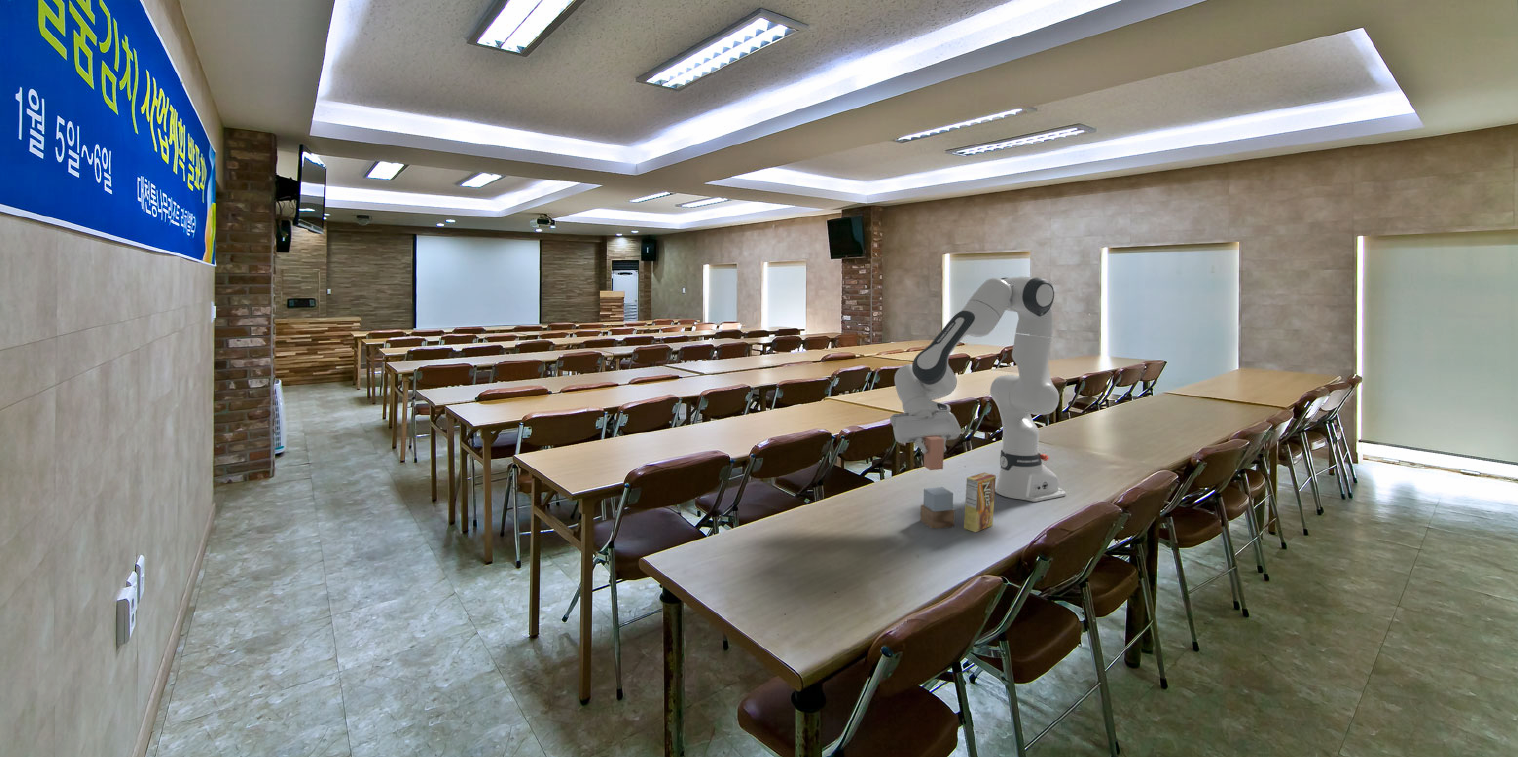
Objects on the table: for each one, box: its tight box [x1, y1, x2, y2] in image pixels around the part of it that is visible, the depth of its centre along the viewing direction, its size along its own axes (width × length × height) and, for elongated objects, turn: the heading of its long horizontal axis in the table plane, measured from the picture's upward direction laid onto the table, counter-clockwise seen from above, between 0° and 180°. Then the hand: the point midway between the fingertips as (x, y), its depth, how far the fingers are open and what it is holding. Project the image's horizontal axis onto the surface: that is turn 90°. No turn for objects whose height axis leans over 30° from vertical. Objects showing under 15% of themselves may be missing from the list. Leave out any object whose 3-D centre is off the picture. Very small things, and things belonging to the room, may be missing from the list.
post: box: [923, 436, 945, 471], centre depth 198 cm, size 4×4×9 cm
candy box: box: [963, 472, 997, 533], centre depth 195 cm, size 9×4×15 cm, turn 129°
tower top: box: [922, 486, 954, 512], centre depth 198 cm, size 6×6×5 cm
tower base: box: [919, 504, 955, 530], centre depth 199 cm, size 7×7×5 cm
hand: (934, 452), depth 198 cm, fingers closed on post, 4 cm apart
